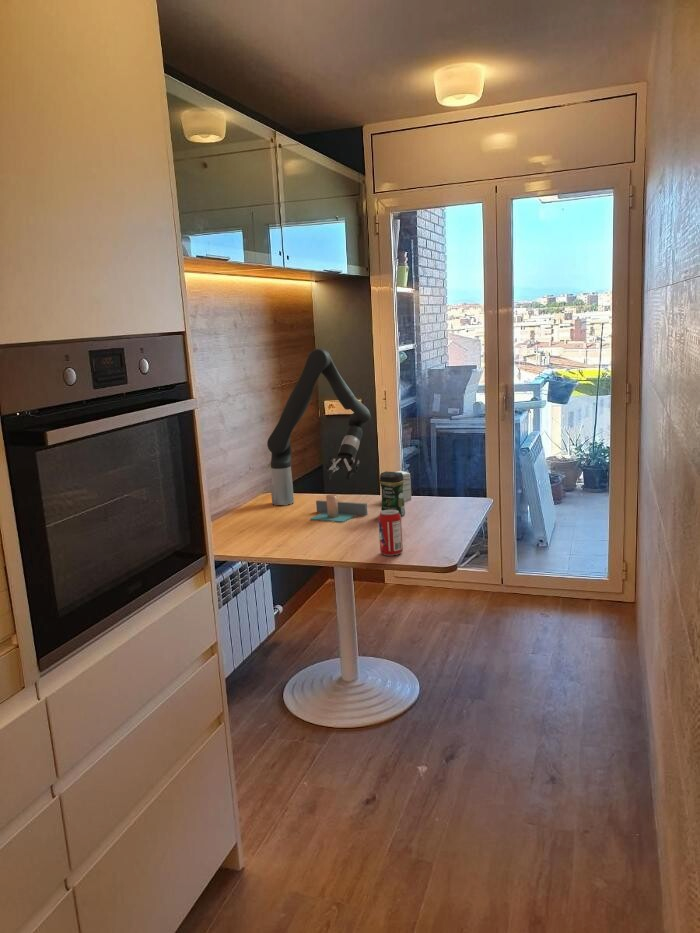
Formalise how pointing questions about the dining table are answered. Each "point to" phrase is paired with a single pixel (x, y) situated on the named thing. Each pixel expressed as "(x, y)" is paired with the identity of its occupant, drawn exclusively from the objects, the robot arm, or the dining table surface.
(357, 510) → the low wall
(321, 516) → the teal mat
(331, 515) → the tan domed capsule
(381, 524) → the soda can
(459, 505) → the dining table surface
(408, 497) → the supplement box
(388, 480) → the coffee jar
